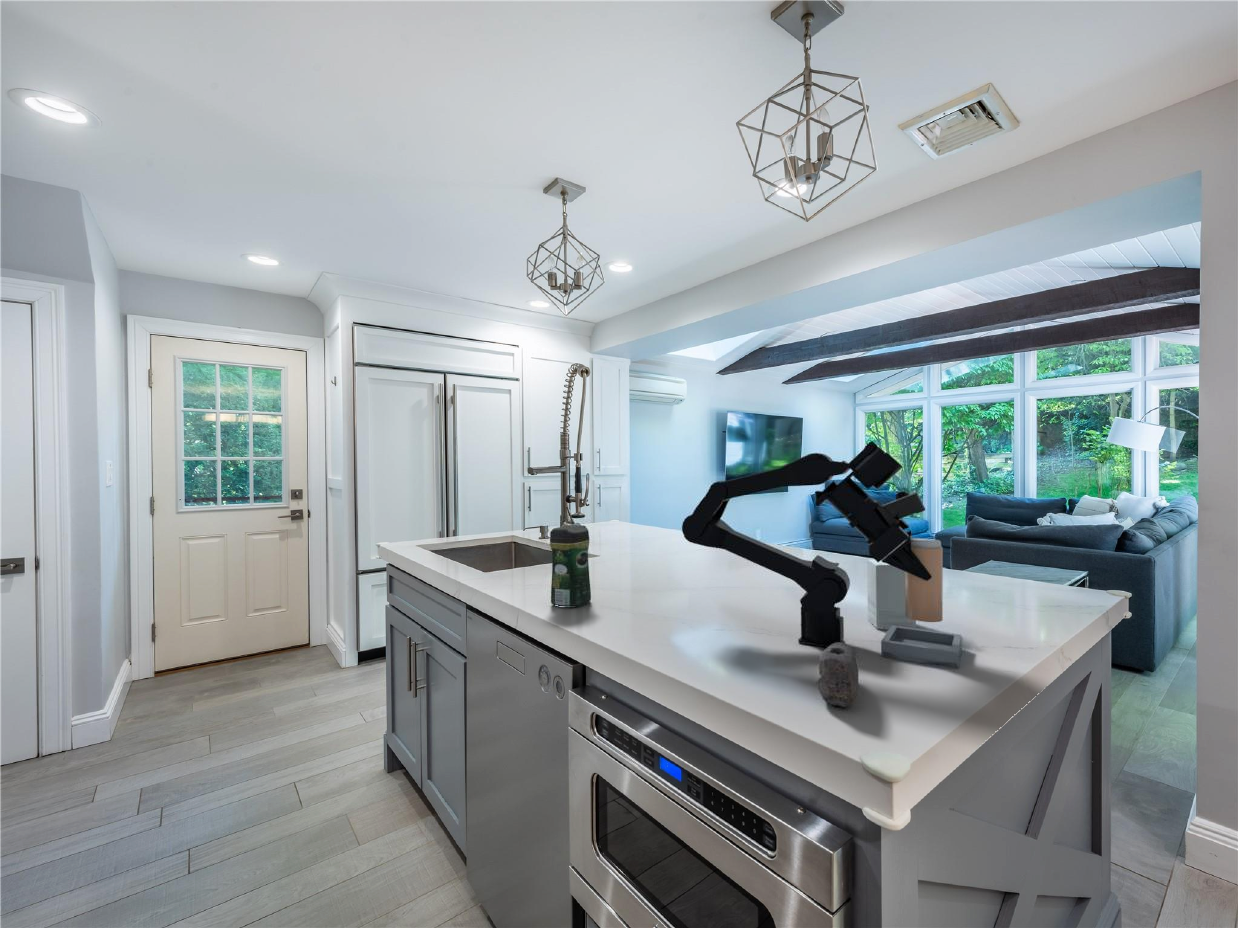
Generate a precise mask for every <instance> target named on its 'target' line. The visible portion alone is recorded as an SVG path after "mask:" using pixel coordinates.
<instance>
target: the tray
mask: <svg viewBox="0 0 1238 928" xmlns="http://www.w3.org/2000/svg"><path fill="white" fill-rule="evenodd" d="M962 643H963V641H962V634H959V633H951V632H944V631H938V630H937V631H936V630H928V629H922V628H917V627H916V628H909V627H901V626H894V625H891V627H890V628H889V630H887V632H886V633H885V635H884V636H883V638H882V640H881V641H880V645H881V647H880V650H881V651H880V653H881V654H880V655H881V657H885V658H890V659H891V658H892V659H897V660H903V661H909V662H915V663H921V664H927V665H934V666H938V667H945V668H950V669H956V670H958V669H959V665H960V659H961V655H962V654H961V653H962V650H963V648H962V647H963V645H962Z"/></svg>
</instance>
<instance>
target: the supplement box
mask: <svg viewBox="0 0 1238 928" xmlns="http://www.w3.org/2000/svg"><path fill="white" fill-rule="evenodd" d="M866 584H867V585H866V589H867V591H866V592H867V620H868V621H869V622H870V623H871V625H873V626H874V628H875V629H877V630H887V631H888V630H889V628H890V627H891V625H894V626H901V627H909V628H916V629H917V620H913V619H910V618H907V617H906V616H905V571H903V570H901V569H898V568H896V567H894V566H891V565H889V564H887V563H883V562H882V561H879V562H877V561H876V560H875V559H866Z"/></svg>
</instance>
